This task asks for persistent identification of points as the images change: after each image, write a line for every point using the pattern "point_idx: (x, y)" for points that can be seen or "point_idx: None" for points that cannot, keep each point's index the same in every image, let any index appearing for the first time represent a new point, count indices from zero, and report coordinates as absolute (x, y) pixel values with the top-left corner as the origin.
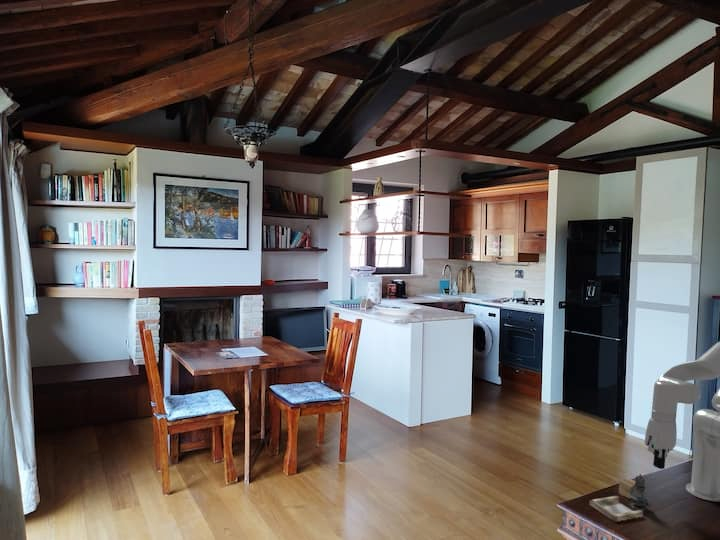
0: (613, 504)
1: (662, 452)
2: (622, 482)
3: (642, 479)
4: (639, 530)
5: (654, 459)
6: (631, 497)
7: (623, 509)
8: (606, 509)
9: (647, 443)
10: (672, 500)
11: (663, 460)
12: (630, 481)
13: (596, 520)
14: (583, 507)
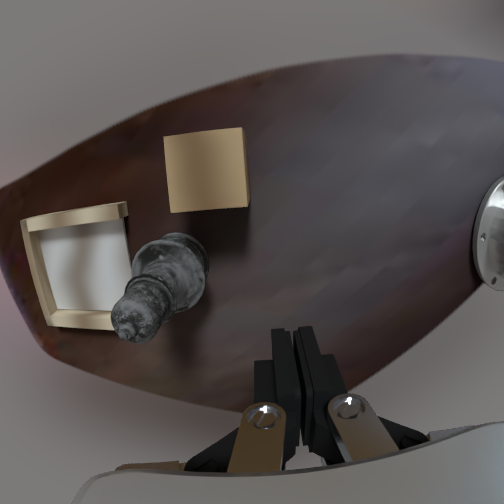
0: (93, 233)
1: (341, 455)
2: (166, 157)
3: (133, 342)
4: (98, 366)
5: (254, 387)
6: (132, 274)
7: (108, 271)
8: (39, 286)
9: (144, 491)
10: (374, 246)
11: (302, 433)
12: (216, 158)
13: (20, 296)
14: (13, 227)
